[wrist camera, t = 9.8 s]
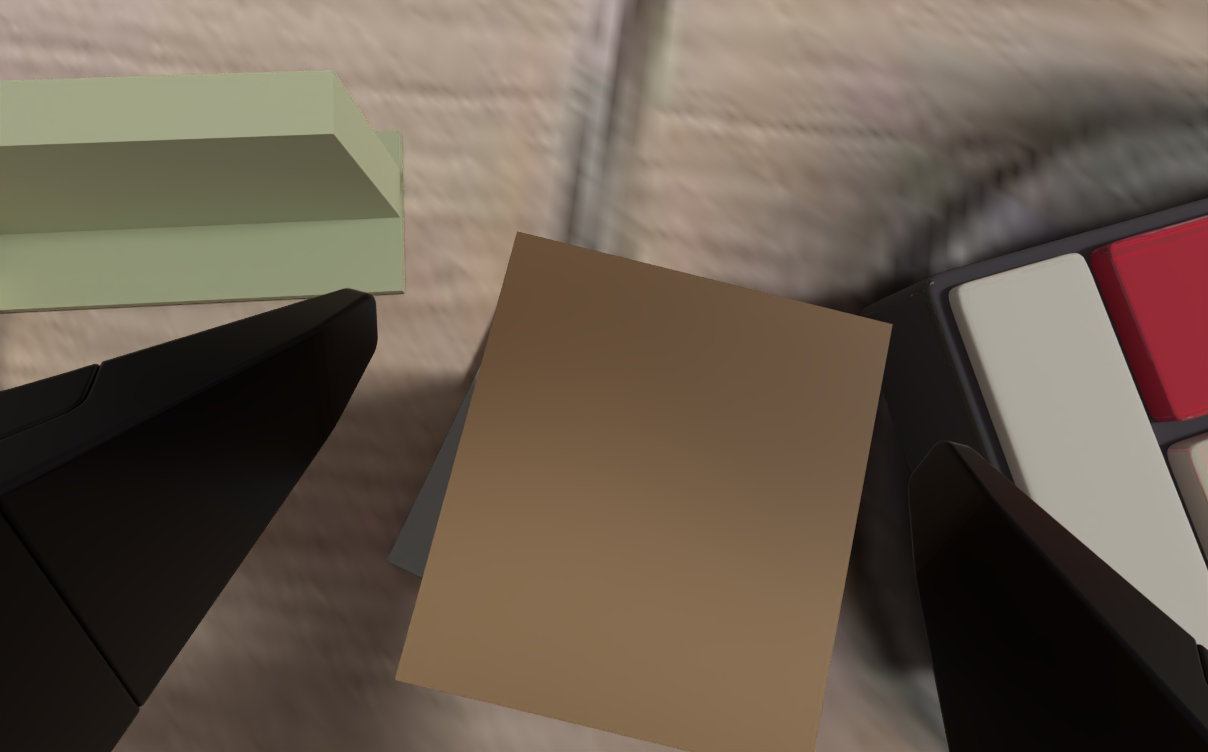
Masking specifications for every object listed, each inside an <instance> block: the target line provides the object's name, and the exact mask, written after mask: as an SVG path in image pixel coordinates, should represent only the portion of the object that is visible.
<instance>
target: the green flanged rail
mask: <svg viewBox="0 0 1208 752" xmlns="http://www.w3.org/2000/svg"><path fill="white" fill-rule="evenodd" d="M344 288H351V289H355V290H359V291H363V292H366V293H370V294H371V295H381V294H402V293H405V260H404V210H403V160H402V135H401V133H400V132H399V131H376V132H374V130H373V129H372V127H371V126H370V124H369V123H368V121H367V120H366V118H365V117H364V115H363V114H362V112H361V111H360V109H359V108H358V106H357V105H356V103H355V102H354V100H353V99H352V97H351V96H350V94H349V93H348V91H347V90H346V88H345V87H344V85H343V84H342V82H341V81H340V79H339V78H338V76H337V75H336V73H335V72H334V70H316V71H286V72H255V73H224V74H194V75H163V76H132V77H101V78H71V79H40V80H9V81H0V313H9V312H30V311H51V310H71V309H92V308H113V307H133V306H154V305H175V304H195V303H216V302H236V301H257V300H278V299H298V298H314V297H317V296H321V295H324V294H327V293H331V292H334V291H337V290H340V289H344Z"/></svg>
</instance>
